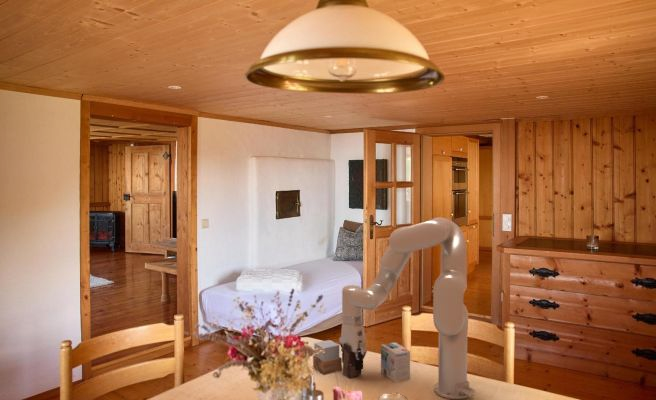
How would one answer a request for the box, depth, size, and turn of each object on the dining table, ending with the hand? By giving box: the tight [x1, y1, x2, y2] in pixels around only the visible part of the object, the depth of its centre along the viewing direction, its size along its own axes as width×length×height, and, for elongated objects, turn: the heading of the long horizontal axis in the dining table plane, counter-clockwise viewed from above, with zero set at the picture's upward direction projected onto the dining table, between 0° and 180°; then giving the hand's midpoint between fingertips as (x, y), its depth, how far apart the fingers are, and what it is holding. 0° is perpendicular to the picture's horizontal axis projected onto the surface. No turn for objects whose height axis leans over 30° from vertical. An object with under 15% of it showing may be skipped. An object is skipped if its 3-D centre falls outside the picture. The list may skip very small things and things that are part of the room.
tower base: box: [312, 355, 343, 376], centre depth 188 cm, size 8×8×5 cm
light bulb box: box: [380, 341, 411, 383], centre depth 181 cm, size 11×7×11 cm, turn 23°
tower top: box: [313, 339, 340, 361], centre depth 187 cm, size 7×7×5 cm
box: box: [342, 343, 363, 379], centre depth 182 cm, size 6×4×12 cm
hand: (352, 365), depth 182 cm, fingers open, 8 cm apart
